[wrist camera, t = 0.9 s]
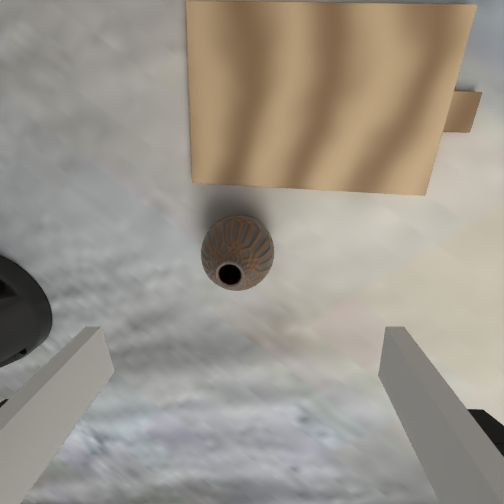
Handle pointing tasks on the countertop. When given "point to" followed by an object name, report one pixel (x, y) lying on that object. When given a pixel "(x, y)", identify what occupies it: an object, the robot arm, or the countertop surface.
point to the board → (325, 93)
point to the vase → (237, 252)
